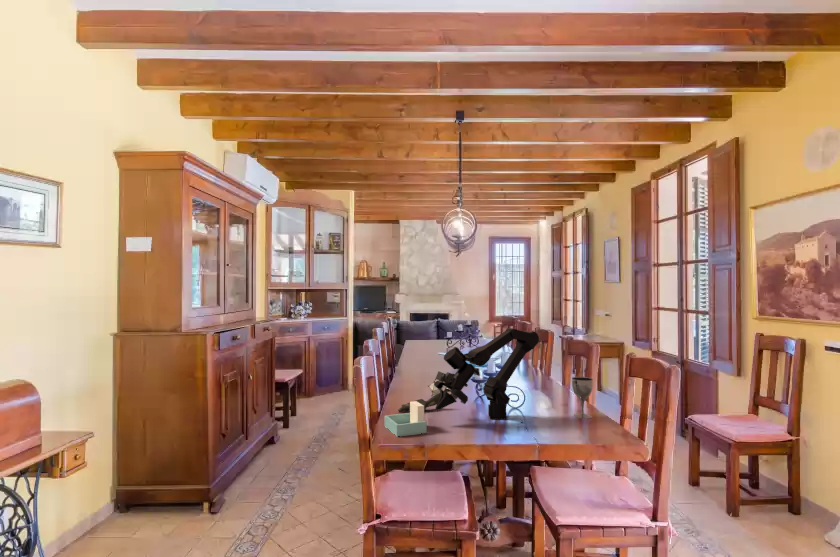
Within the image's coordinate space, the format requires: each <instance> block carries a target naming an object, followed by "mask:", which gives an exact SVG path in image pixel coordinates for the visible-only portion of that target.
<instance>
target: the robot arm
mask: <svg viewBox="0 0 840 557" xmlns="http://www.w3.org/2000/svg"><path fill="white" fill-rule="evenodd" d="M513 340H515V348H514V349H513V350H512V351H511V353H510V354H509V356H508V358H507V359H506V361H505V362H504V363H503V365H502V366H501V367H500V370H498V373H497V374H496V375H495V376H494V377H493V376H489V377H488V378H487V380H486V382H484V383H483V389H482V390H483V395H484V396H485V397H486V400H487V401H489V404H488V405H487V407H488V408H487V412H488V413H487V414H488V415H487V416H488V417H489V418H490V420H508V418H507V417H508V416H507V404H509V403H510V399H511V398H510V397H509V396H508V394H506V391H507V387H508V382H509V381H510V378H511V377H512V376H513V374H514V372H515V371H516V369H517V368H518V366H519V365H520V363H521V362H522V360H523V359H524V357H525V355H526V354H527V353H529V352H530V351H532V350H533V349H535V347H536V346H537V345H538V344H539V342H540V336H539V334H538V333H537V332H535V331H530V330H519V329H517V328H513V327H508V328H506V329H505V330H504V331H503V332H501V333H500V334H499V335H498V336H496V337H494V338H492V340H490V341H488V342H487V343H486V344H484V345H482V346H478V347H475V348H473V349H470V350H469V351H468V352H467V353H463V351H461V350H460V349H459V347H457V346H454V347H453V348H451V349H449V350H448V351H447V352H446V353H445V354H444V356H443V360H444V361H445V362H446V363H447V364H448V365H449V366H450V367H451V368H452V369H453V370H456V371H455V373H451V372H449V371H448V372H446V373H444V372H442V371H437V373H436V377H435V379H436V380H438V381H436V382H435V383H434V386H436V387H437V388H438V389H439V390H440V397H439V400H438V403H437V405H435V410H437V411H440V410H443V409H444V408H446V407H448V406H450V405H452V404H455V403H457V402H458V401H457V399H459V400H460V403H461V404H464V405H466V404H467V403H468V400H469V396H468V395H466V393H464V392H463V388H465V387H469V385H468V383H469V381H470V380H471V379H472V377H474V375H475V376H478V377H479V376H480V375H481V374H480V368H479V367H483V366H485V365H486V364H487V363H488V362H489V361H490V360H491V357H492V356H493V355H494V354H495V353H497V352H498V351H499V350H501V349H502V348H503V347H504V346H506V345H507V344H509V343H511V342H512V341H513ZM474 365H475V366H477V367H475V366H474Z"/></svg>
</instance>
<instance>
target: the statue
mask: <svg viewBox="0 0 840 557" xmlns="http://www.w3.org/2000/svg"><path fill="white" fill-rule="evenodd" d="M439 397H440V393H438V394H436V395H433V396H431V397H430V398H429V399H427V400H424V399H423V398H421V399H417V400H415V399H414V401H417V402H419V403H420V404H422V405H424V411H425V410H426V409H427V408H429V407H435V406H436V405H437V403H438V400H439ZM410 402H411V401H409V402H407V403H405V404H401V407H400V408H399V409H397V411H398V413H402V412H407V411H410Z"/></svg>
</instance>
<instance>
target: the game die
mask: <svg viewBox="0 0 840 557" xmlns="http://www.w3.org/2000/svg"><path fill="white" fill-rule="evenodd" d="M436 381H439V380H437V379H436V378H434V380H433V382H431V384H430V385H427V387H429V390H430V391H431V392H430V393H431V397H433V396H435V395H436V394H438V393H440V390H439V389H438V388H437V387H436V386H434V383H435V382H436Z"/></svg>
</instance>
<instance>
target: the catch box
mask: <svg viewBox="0 0 840 557" xmlns="http://www.w3.org/2000/svg"><path fill="white" fill-rule="evenodd" d="M384 427H385V428H386V429H387V428H388V429H389V430H390V431H391V432H390V431H389V430H388V429H387V430H388V431H389V432H390V433H392V434H393V435H394V434H395V435H396V436H395V435H394V436H395V437H397V438H398V436H400V437H406V436H414V435H420V434H421V433H422V434H427V430H428V429H427V421H426V420H424V421H422V422H414V423H410V412H405V413H398V414H397V413H395V414H387V415H384Z"/></svg>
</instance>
